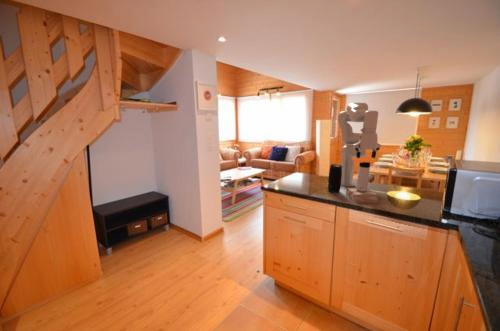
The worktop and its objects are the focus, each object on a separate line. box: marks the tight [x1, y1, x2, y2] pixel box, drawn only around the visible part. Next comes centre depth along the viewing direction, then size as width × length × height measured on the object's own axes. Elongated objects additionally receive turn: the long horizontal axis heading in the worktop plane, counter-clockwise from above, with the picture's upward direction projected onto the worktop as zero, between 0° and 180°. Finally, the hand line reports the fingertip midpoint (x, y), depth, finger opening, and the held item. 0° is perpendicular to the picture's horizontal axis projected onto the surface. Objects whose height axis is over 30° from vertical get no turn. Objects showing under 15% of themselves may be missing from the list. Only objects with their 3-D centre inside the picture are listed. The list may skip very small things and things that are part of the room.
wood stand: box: [345, 187, 379, 203], centre depth 150 cm, size 14×14×5 cm
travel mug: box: [356, 161, 371, 193], centre depth 147 cm, size 6×7×20 cm
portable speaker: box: [327, 163, 342, 194], centre depth 162 cm, size 9×9×20 cm
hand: (365, 157), depth 145 cm, fingers open, 9 cm apart
